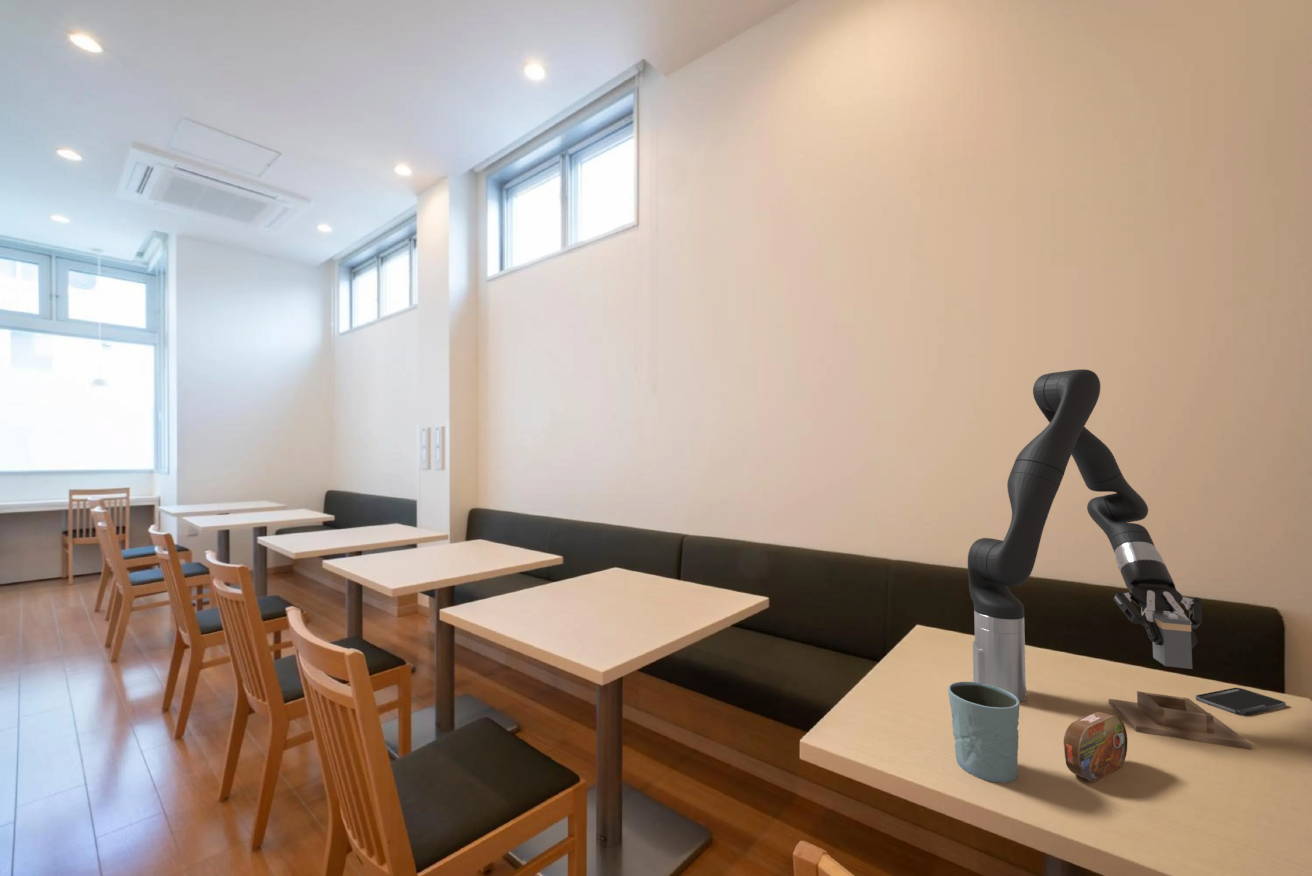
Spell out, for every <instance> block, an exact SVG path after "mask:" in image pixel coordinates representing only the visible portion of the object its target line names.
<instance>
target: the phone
mask: <svg viewBox="0 0 1312 876" xmlns="http://www.w3.org/2000/svg"><path fill="white" fill-rule="evenodd" d="M1195 700H1196V701H1198V702H1200V703H1202V704H1206V705H1209V706H1212V707H1214V708H1216V709H1218V710H1219V709H1220V710H1222V711H1226V712H1229V713H1230V714H1231V713H1232V714H1234V715H1237V716H1242V717H1246V716H1247V717H1248V716H1252V715H1257V714H1261V713H1266V712H1271V711H1274V710H1273V709H1276V710H1279V709H1278V708H1280V709H1282V708H1281V707H1285V708H1287V703H1286V702H1285V701H1283V700H1280V699H1277V698H1274V697H1272V696H1271V697H1270V696H1267V695H1265V694H1261V693H1257V692H1254V691H1251V690H1249V689H1245V688H1241V687H1232V688H1227V689H1221V690H1217V691H1211V692H1206V693H1201V694H1197V695H1195ZM1270 710H1271V711H1270Z"/></svg>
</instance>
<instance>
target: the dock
mask: <svg viewBox="0 0 1312 876" xmlns="http://www.w3.org/2000/svg"><path fill="white" fill-rule="evenodd" d="M1108 704H1109V705H1110V706H1111V708H1112V709H1113V710H1115V711H1116V713H1118V715H1120V717H1122V719H1124V721H1125V722H1126V723H1127V724H1128V725H1130V727H1131V728H1132V729H1134V730H1135V731H1136V732H1137V733H1144V734H1150V735H1151V734H1152V735H1159V736H1165V737H1170V738H1177V739H1184V740H1190V741H1195V742H1204V743H1210V744H1214V745H1215V744H1216V745H1223V746H1226V747H1227V746H1228V747H1234V748H1241V749H1245V750H1246V749H1247V750H1251V749H1252V743H1251V742H1250V741H1248V740H1247V739H1245V738H1244V737H1243V736H1242V735H1240V734H1238V732H1236V731H1235V730H1233V729H1232V728H1231V727H1230V726H1228V725H1227V724H1226V723H1224V722H1222V721H1221V720H1220V719H1219V718H1217V717H1216V716H1214V715H1213V714H1212V713H1211V712H1208V711H1206V710H1205V709H1204V708H1202V707H1201V706H1200V705H1198V704H1197V703H1195V701H1193V700H1192V699H1190V698H1189V697H1184V696H1183V697H1181V696H1175V695H1168V694H1167V695H1166V694H1159V693H1153V692H1145V691H1138V690H1137V691H1136V701H1129V700H1121V699H1113V698H1108Z"/></svg>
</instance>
